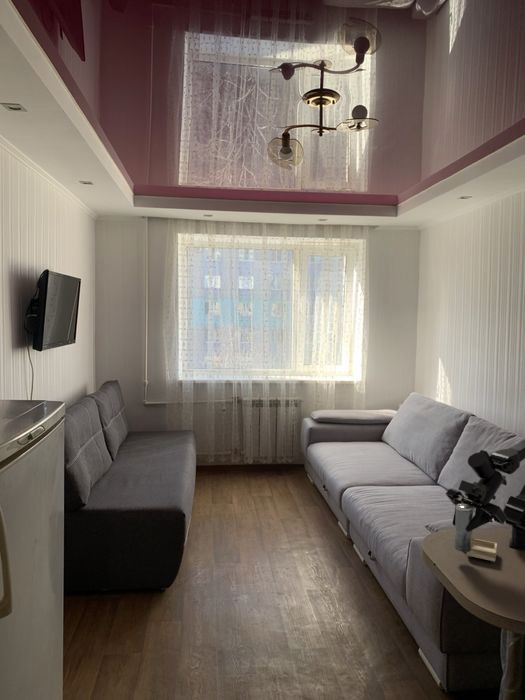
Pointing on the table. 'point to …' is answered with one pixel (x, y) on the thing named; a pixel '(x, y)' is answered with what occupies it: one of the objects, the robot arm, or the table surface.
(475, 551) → the square wooden tray
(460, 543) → the canister
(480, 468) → the robot arm
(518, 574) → the table surface
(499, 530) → the table surface
